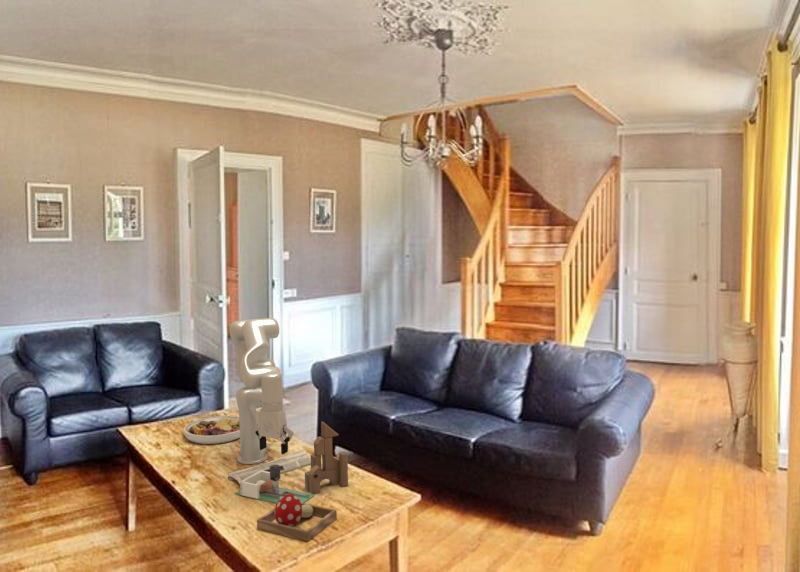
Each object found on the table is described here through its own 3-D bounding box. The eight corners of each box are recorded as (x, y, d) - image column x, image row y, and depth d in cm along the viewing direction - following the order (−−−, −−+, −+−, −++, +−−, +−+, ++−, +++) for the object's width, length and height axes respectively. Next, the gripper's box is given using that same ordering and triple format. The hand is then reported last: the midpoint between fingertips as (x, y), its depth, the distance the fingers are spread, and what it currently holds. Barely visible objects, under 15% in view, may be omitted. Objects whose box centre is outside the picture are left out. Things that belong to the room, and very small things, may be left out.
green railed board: (254, 482, 243) (254, 481, 243) (314, 495, 231) (314, 494, 231) (235, 494, 233) (234, 492, 233) (297, 508, 221) (297, 507, 221)
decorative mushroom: (313, 487, 218) (281, 486, 206) (328, 512, 211) (296, 513, 200) (294, 509, 220) (262, 510, 209) (309, 535, 213) (276, 537, 202)
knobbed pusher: (270, 488, 236) (269, 462, 235) (288, 492, 233) (287, 465, 232) (260, 494, 231) (259, 467, 230) (278, 498, 228) (277, 470, 227)
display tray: (288, 507, 221) (288, 499, 221) (336, 518, 213) (336, 510, 212) (257, 528, 206) (256, 520, 206) (307, 541, 197) (307, 532, 197)
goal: (261, 482, 242) (260, 470, 242) (278, 486, 239) (277, 473, 238) (240, 494, 232) (239, 481, 231) (257, 498, 228) (257, 485, 228)
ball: (266, 477, 236) (270, 487, 235) (258, 480, 238) (262, 490, 237) (259, 481, 232) (263, 491, 232) (251, 484, 234) (255, 494, 234)
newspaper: (240, 488, 240) (239, 479, 239) (225, 478, 249) (224, 470, 249) (317, 464, 263) (316, 455, 263) (300, 456, 272) (300, 448, 272)
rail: (270, 488, 237) (270, 486, 236) (310, 497, 229) (310, 495, 228) (260, 495, 231) (260, 493, 231) (301, 504, 223) (301, 501, 223)
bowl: (185, 429, 310) (184, 413, 309) (247, 422, 319) (246, 407, 318) (183, 449, 281) (182, 432, 281) (252, 442, 290) (251, 425, 290)
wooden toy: (311, 495, 232) (309, 429, 229) (304, 488, 237) (302, 424, 235) (349, 485, 239) (348, 421, 237) (342, 479, 245) (340, 417, 243)
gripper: (246, 405, 229) (248, 450, 231) (285, 412, 222) (286, 458, 224) (260, 399, 236) (261, 443, 238) (298, 406, 228) (299, 451, 230)
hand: (273, 450), depth 231 cm, fingers open, 9 cm apart
